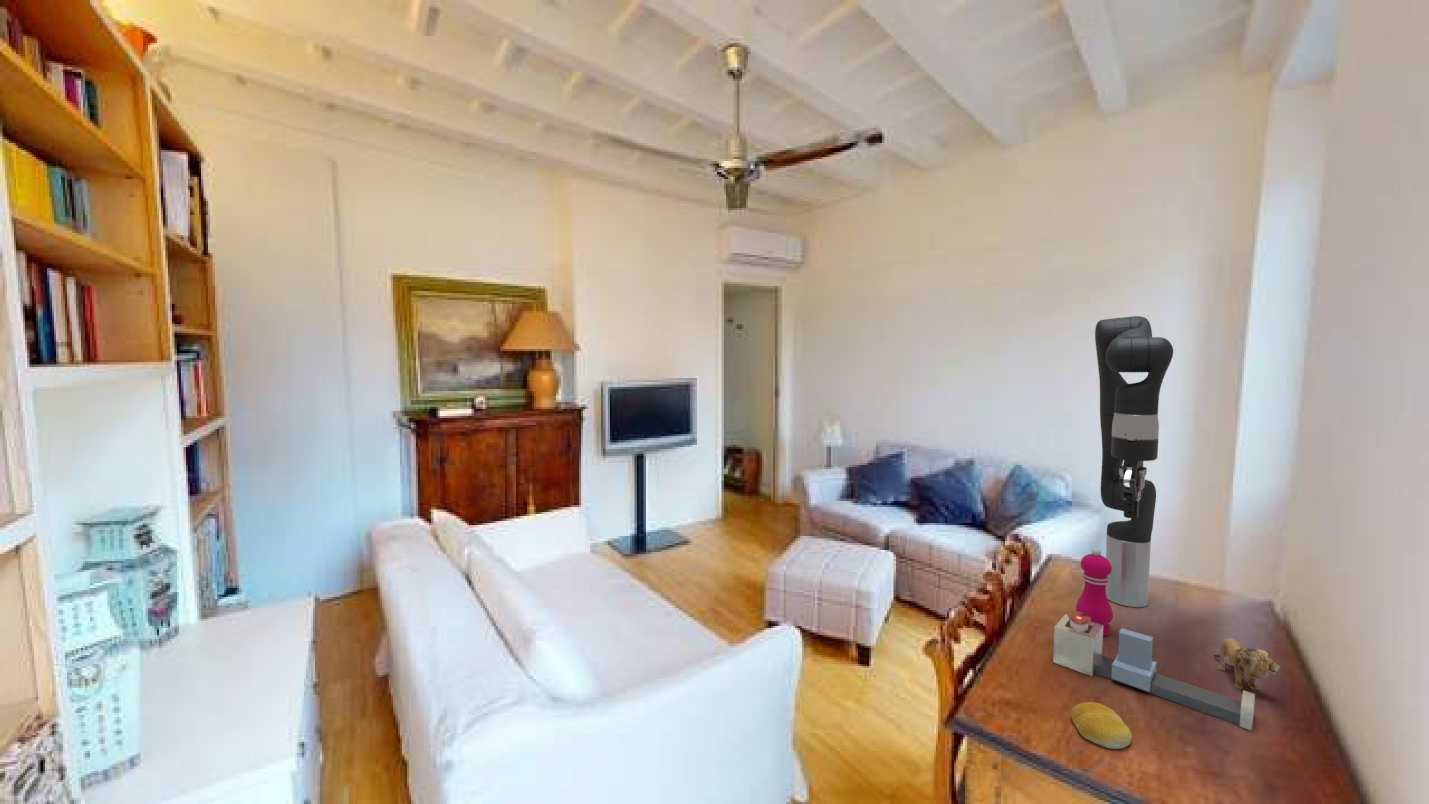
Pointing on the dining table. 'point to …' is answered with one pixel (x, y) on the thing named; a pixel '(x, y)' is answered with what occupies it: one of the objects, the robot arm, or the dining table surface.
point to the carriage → (1134, 660)
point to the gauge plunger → (1079, 621)
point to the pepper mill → (1096, 590)
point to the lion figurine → (1245, 662)
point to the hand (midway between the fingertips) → (1130, 517)
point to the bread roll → (1101, 725)
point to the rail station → (1088, 659)
